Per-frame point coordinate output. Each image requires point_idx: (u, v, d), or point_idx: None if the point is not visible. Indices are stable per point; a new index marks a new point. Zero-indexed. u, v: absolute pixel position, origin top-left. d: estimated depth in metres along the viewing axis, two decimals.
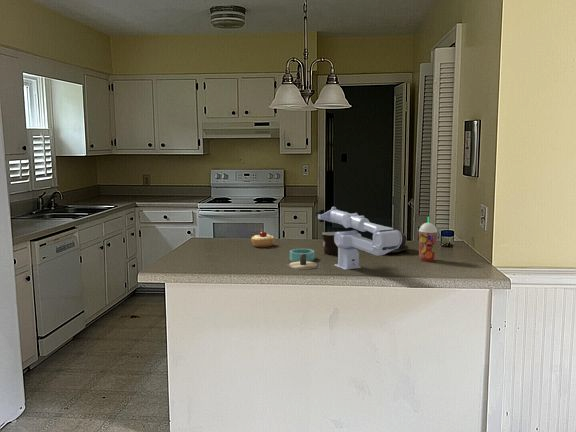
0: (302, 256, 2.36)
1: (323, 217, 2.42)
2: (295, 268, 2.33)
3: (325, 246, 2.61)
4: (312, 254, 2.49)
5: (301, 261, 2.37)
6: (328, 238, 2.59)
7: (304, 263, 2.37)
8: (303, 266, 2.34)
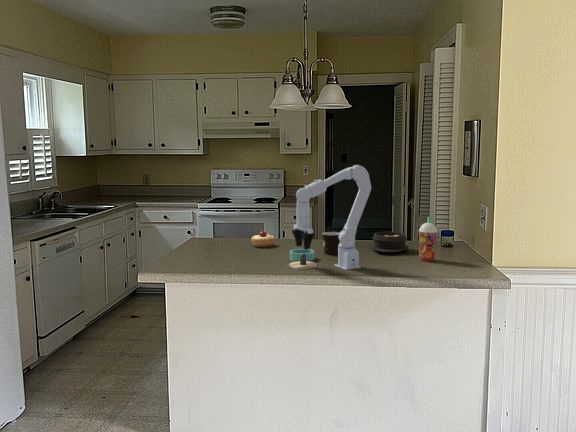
0: (302, 256, 2.36)
1: None
2: (295, 268, 2.33)
3: (325, 246, 2.61)
4: (312, 254, 2.49)
5: (301, 261, 2.37)
6: (328, 238, 2.59)
7: (304, 263, 2.37)
8: (303, 266, 2.34)
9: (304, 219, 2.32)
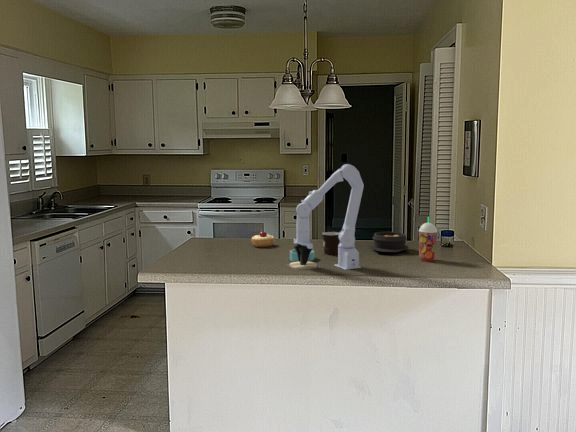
0: None
1: (309, 244, 2.32)
2: (295, 268, 2.33)
3: (325, 246, 2.61)
4: (312, 254, 2.49)
5: (301, 261, 2.37)
6: (328, 238, 2.59)
7: (304, 263, 2.37)
8: (303, 266, 2.34)
9: (304, 234, 2.33)
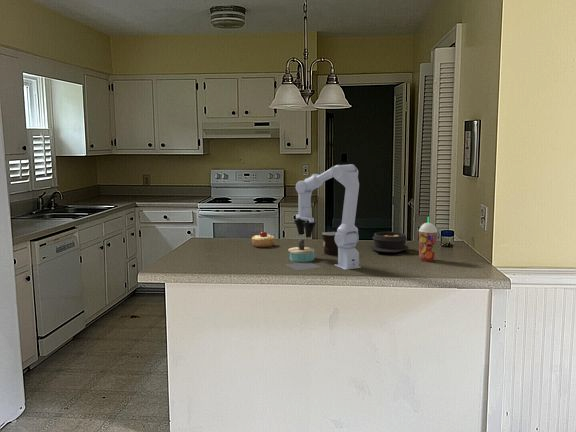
0: (300, 242, 2.50)
1: (310, 218, 2.49)
2: (294, 253, 2.46)
3: (325, 246, 2.61)
4: (312, 254, 2.49)
5: (300, 246, 2.50)
6: (328, 238, 2.59)
7: (302, 248, 2.50)
8: (302, 251, 2.47)
9: (306, 209, 2.50)
